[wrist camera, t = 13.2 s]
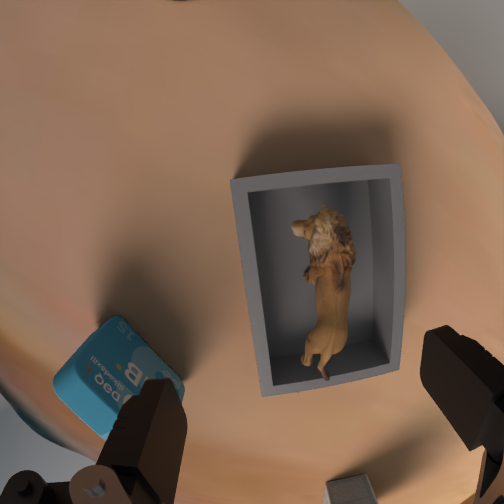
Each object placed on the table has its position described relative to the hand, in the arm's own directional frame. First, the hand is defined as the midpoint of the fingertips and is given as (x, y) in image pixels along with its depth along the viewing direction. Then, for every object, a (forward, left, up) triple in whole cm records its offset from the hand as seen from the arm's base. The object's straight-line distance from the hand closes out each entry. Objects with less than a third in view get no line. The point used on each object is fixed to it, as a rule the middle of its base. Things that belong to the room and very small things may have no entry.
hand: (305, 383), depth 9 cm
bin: (+4, +5, -23) cm, 24 cm away
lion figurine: (+6, +4, -21) cm, 22 cm away
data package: (+12, -16, -23) cm, 31 cm away
